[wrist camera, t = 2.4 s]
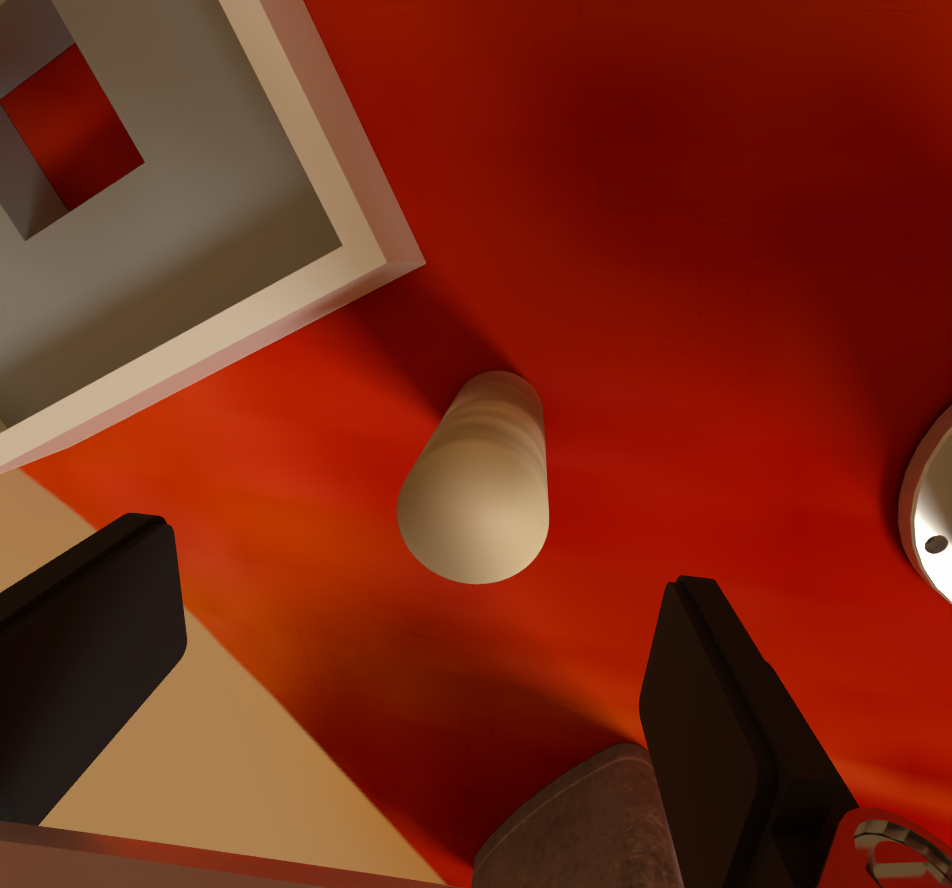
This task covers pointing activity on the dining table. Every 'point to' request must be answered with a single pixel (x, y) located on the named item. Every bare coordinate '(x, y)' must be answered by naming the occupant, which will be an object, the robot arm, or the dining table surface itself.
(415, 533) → the peg
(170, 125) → the open top box
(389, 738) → the dining table surface
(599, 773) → the flask
